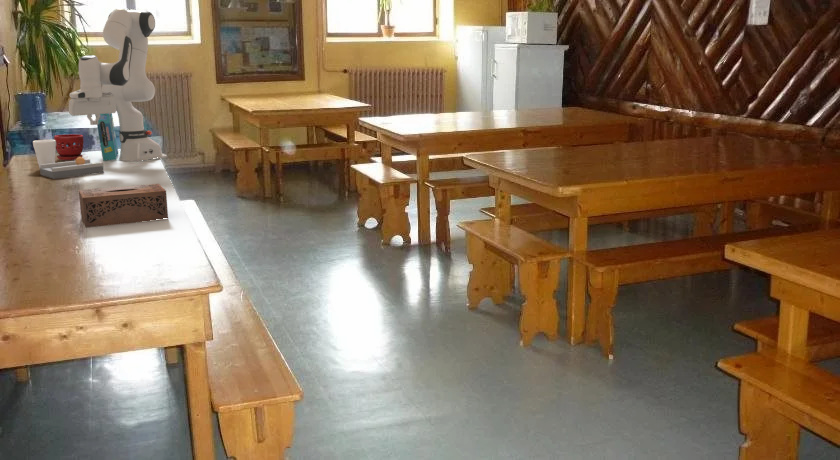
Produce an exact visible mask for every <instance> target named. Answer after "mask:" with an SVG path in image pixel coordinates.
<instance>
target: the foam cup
mask: <svg viewBox="0 0 840 460" xmlns="http://www.w3.org/2000/svg"><path fill="white" fill-rule="evenodd" d="M32 145H33V148H34V153H35V156H36V161H37V164H38V168H39V169H40V165H42V164H51V163H56V156H57V155H56V153H57V150H56V140H54V139H38V140H33V141H32Z"/></svg>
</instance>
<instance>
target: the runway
mask: <svg viewBox="0 0 840 460" xmlns="http://www.w3.org/2000/svg"><path fill="white" fill-rule="evenodd" d="M75 161H76V160H69V161H60V162H55V163H51V164H42V165H40V168H39V172H40V176H43V177H47V178H49V179H52V180H53V179H54V180H57V179H63V178H64V179H65V178H70V177H71V178H72V177H73V178H74V177H79V176H87V175H95V174H103V173H105V172H104V171H105V170H104V162H103V161H102V162H95V163H92V162H91V159H90V158H89V159H87V158H86V159H85V164H83V165H77V164H76V162H75Z"/></svg>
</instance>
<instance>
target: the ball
mask: <svg viewBox="0 0 840 460" xmlns="http://www.w3.org/2000/svg"><path fill="white" fill-rule="evenodd" d="M85 160H86V159H85V158H84V157H78V158H77V159H76V160H74V161H75V162H76V164H77V165H83V164H85Z"/></svg>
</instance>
